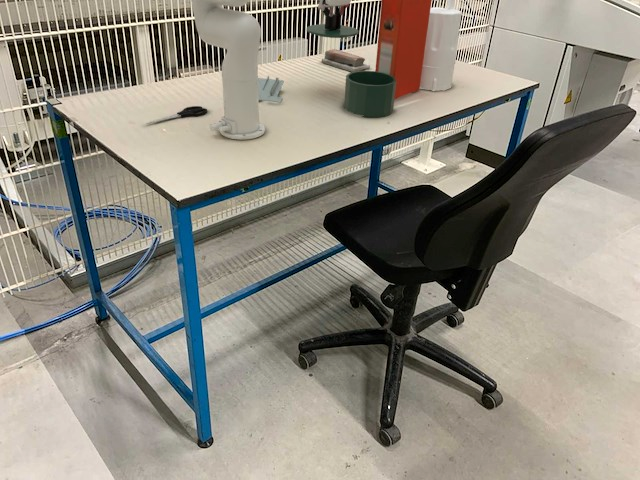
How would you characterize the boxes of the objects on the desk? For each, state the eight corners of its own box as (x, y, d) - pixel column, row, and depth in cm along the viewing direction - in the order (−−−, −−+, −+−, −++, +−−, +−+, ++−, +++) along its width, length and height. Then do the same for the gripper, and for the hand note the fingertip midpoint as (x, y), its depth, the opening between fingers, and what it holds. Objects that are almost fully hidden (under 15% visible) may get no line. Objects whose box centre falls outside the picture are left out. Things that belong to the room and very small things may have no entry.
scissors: (153, 129, 146) (211, 112, 158) (153, 126, 145) (210, 110, 158) (140, 122, 149) (197, 107, 162) (140, 119, 149) (197, 104, 161)
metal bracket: (247, 70, 176) (290, 75, 174) (249, 85, 181) (291, 90, 178) (234, 95, 167) (279, 99, 165) (236, 110, 172) (280, 115, 169)
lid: (332, 41, 156) (333, 21, 153) (295, 31, 166) (296, 11, 163) (368, 35, 166) (370, 16, 163) (332, 26, 176) (333, 7, 173)
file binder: (372, 95, 178) (382, -6, 160) (400, 85, 189) (412, -11, 171) (391, 101, 174) (404, -3, 156) (419, 90, 185) (433, -8, 167)
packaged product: (320, 50, 207) (337, 46, 214) (320, 62, 210) (337, 59, 216) (354, 60, 197) (371, 56, 203) (353, 73, 200) (370, 68, 206)
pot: (369, 121, 158) (372, 89, 152) (333, 107, 167) (335, 76, 161) (402, 110, 167) (406, 79, 161) (366, 98, 176) (369, 68, 170)
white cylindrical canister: (437, 93, 183) (455, -11, 165) (402, 83, 191) (414, -17, 172) (458, 84, 193) (477, -15, 174) (423, 75, 201) (438, -20, 182)
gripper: (325, -34, 148) (322, 34, 158) (363, -36, 158) (358, 28, 168) (308, -37, 153) (305, 29, 163) (346, -38, 162) (341, 24, 172)
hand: (332, 28), depth 165 cm, fingers closed on lid, 2 cm apart
